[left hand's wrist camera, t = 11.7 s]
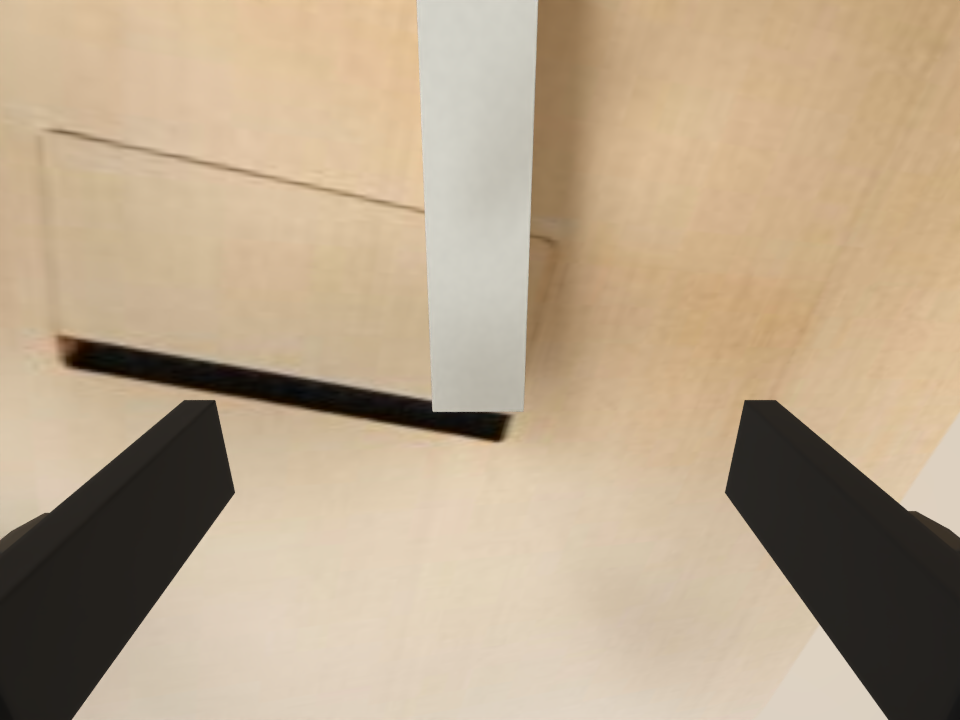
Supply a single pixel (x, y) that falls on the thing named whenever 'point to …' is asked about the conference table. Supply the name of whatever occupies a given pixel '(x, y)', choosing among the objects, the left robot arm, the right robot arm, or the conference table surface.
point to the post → (477, 196)
